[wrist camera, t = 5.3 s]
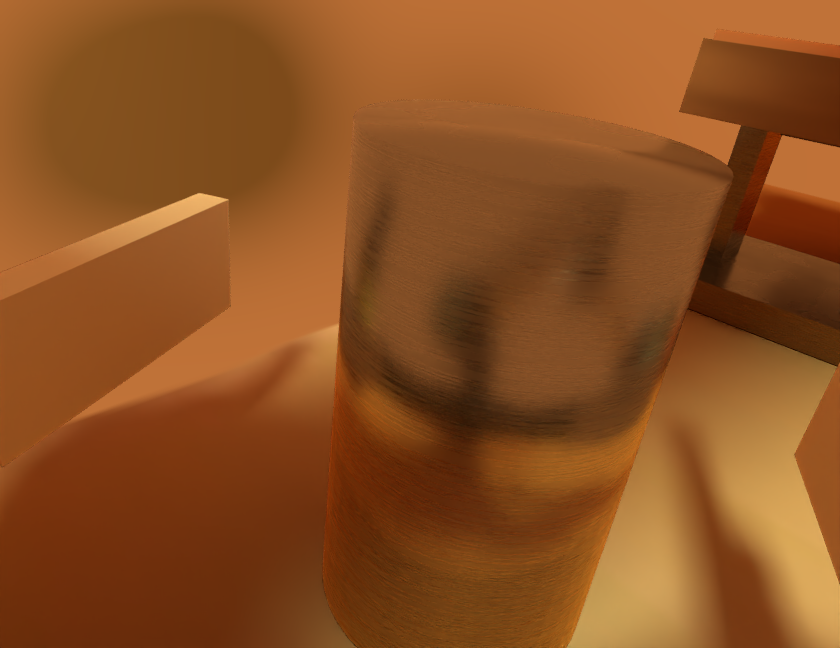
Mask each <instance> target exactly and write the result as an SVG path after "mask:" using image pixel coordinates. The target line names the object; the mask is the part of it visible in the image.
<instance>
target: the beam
mask: <svg viewBox="0 0 840 648" xmlns="http://www.w3.org/2000/svg"><path fill="white" fill-rule="evenodd" d="M679 112H682V113H688V114H692V115H697V116H701V117H706V118H711V119H716V120H720V121H725V122H729V123H734V124H739V125H743V126H748V127H752V128H757V129H762V130H766V131H771V132H776V133H780V134H781V135H785V136H789V137H794V138H799V139H804V140H808V141H813V142H817V143H822V144H826V145H831V146H836V147H840V46H839V45H832V44H824V43H817V42H810V41H802V40H795V39H788V38H780V37H773V36H766V35H758V34H751V33H744V32H736V31H729V30H722V29H717V30H716V33H715V35H714V39H713V40H712V39H705V38H704V39H703V42H702V45H701V48H700V51H699V54H698V57H697V60H696V63H695V66H694V69H693V72H692V75H691V78H690V81H689V84H688V87H687V90H686V93H685V96H684V99H683V102H682V105H681V108H680V111H679Z"/></svg>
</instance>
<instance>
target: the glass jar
mask: <svg viewBox="0 0 840 648" xmlns="http://www.w3.org/2000/svg"><path fill="white" fill-rule="evenodd" d="M733 177H734V176H733V172H732V170H731V169H730V168H729V167H728V166H727V165H726V164H724V163H723V162H722V161H720V160H719V159H716V158H715V157H713V156H711V155H709V154H707V153H705V152H703V151H701V150H698V149H696V148H693V147H691V146H688V145H685V144H683V143H680V142H677V141H674V140H671V139H668V138H665V137H662V136H658V135H655V134H652V133H648V132H644V131H641V130H637V129H633V128H629V127H625V126H621V125H617V124H613V123H608V122H604V121H599V120H595V119H590V118H584V117H580V116H574V115H569V114H563V113H557V112H551V111H545V110H539V109H531V108H525V107H517V106H509V105H500V104H491V103H481V102H469V101H451V100H399V101H388V102H381V103H375V104H371V105H368V106H365V107H362V108H360V109H359V110H357V111H356V112H355V115H354V118H353V133H352V149H351V162H350V176H349V190H348V205H347V220H346V235H345V249H344V263H343V277H342V291H341V306H340V307H341V308H340V320H339V334H338V349H337V363H336V378H335V392H334V407H333V421H332V435H331V450H330V464H329V479H328V493H327V507H326V522H325V536H324V551H323V565H322V571H323V585H324V590H325V596H326V598H327V601H328V604H329V607H330V610H331V612H332V614H333V616H334V617H335V619H336V621H337V623H338V625H339V626H340V628H341V629H342V630H343V632H344V633H345V634H346V636H347V637H348V639H349V640H350V641H351V642H352V643H353V644H354V645H355V646H356V647H357V648H566V647H567V645H568V644H569V642H570V640H571V639H572V636H573V634H574V631H575V628H576V626H577V623H578V620H579V617H580V614H581V612H582V609H583V606H584V603H585V600H586V597H587V594H588V591H589V589H590V586H591V583H592V580H593V577H594V574H595V571H596V569H597V566H598V563H599V560H600V557H601V554H602V551H603V549H604V546H605V543H606V540H607V537H608V534H609V531H610V529H611V526H612V523H613V520H614V517H615V514H616V511H617V509H618V506H619V503H620V500H621V497H622V494H623V491H624V489H625V486H626V483H627V480H628V477H629V474H630V471H631V469H632V466H633V463H634V460H635V457H636V454H637V451H638V449H639V446H640V443H641V440H642V437H643V434H644V431H645V429H646V426H647V423H648V420H649V417H650V414H651V411H652V408H653V406H654V403H655V400H656V397H657V394H658V391H659V388H660V386H661V383H662V380H663V377H664V374H665V371H666V368H667V366H668V363H669V360H670V357H671V354H672V351H673V348H674V346H675V343H676V340H677V337H678V334H679V331H680V328H681V326H682V323H683V320H684V317H685V314H686V311H687V308H688V306H689V303H690V300H691V297H692V294H693V291H694V288H695V286H696V283H697V280H698V277H699V274H700V271H701V268H702V266H703V263H704V260H705V257H706V254H707V251H708V248H709V246H710V243H711V240H712V237H713V234H714V231H715V228H716V226H717V223H718V220H719V217H720V214H721V211H722V208H723V205H724V203H725V200H726V197H727V194H728V191H729V188H730V185H731V183H732V180H733Z"/></svg>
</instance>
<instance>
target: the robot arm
mask: <svg viewBox="0 0 840 648" xmlns="http://www.w3.org/2000/svg"><path fill="white" fill-rule="evenodd" d="M230 306H231V299H230V249H229V200H228V199H224V198H219V197H215V196H210V195H206V194H202V193H198V194H196V195H193V196H191V197H188V198H186V199H183V200H181V201H178V202H176V203H173V204H170V205H168V206H165V207H163V208H160V209H158V210H155V211H153V212H151V213H148V214H145V215H143V216H140V217H138V218H135V219H133V220H130V221H128V222H125V223H123V224H120V225H118V226H115V227H113V228H110V229H108V230H105V231H103V232H100V233H98V234H95V235H93V236H90V237H88V238H85V239H83V240H80V241H78V242H75V243H72V244H70V245H67V246H65V247H62V248H60V249H57V250H55V251H52V252H50V253H47V254H45V255H42V256H40V257H37V258H35V259H32V260H30V261H27V262H25V263H22V264H20V265H17V266H15V267H12V268H10V269H7V270H5V271H2V272H0V467H4V466H5V465H7V464H8V463H10V462H11V461H13V460H14V459H15V458H17V457H18V456H20V455H21V454H22V453H24V452H25V451H27V450H28V449H30V448H31V447H32V446H34V445H35V444H37V443H38V442H39V441H41V440H42V439H44V438H45V437H47V436H48V435H49V434H51V433H52V432H54V431H55V430H56V429H58V428H59V427H61V426H62V425H64V424H65V423H66V422H68V421H69V420H71V419H72V418H73V417H75V416H76V415H78V414H79V413H81V412H82V411H83V410H85V409H86V408H87V407H89V406H90V405H92V404H93V403H95V402H96V401H98V400H99V399H100V398H102V397H103V396H105V395H106V394H107V393H109V392H110V391H112V390H113V389H115V388H116V387H117V386H119V385H120V384H122V383H123V382H124V381H126V380H127V379H129V378H130V377H132V376H133V375H134V374H136V373H137V372H139V371H140V370H141V369H143V368H144V367H146V366H147V365H149V364H150V363H151V362H153V361H154V360H156V359H157V358H158V357H160V356H161V355H163V354H164V353H165V352H167V351H168V350H170V349H171V348H173V347H174V346H175V345H177V344H178V343H180V342H181V341H182V340H184V339H185V338H187V337H188V336H190V335H191V334H192V333H194V332H195V331H197V330H198V329H200V328H201V327H202V326H204V325H205V324H207V323H208V322H210V321H211V320H212V319H214V318H215V317H217V316H218V315H219V314H221V313H222V312H224V311H225V310H226V309H228V308H229V307H230ZM794 455H795V458H796V461H797V464H798V467H799V470H800V473H801V475H802V478H803V481H804V484H805V487H806V490H807V492H808V495H809V498H810V501H811V504H812V507H813V510H814V512H815V515H816V518H817V521H818V524H819V527H820V529H821V532H822V535H823V538H824V541H825V544H826V547H827V549H828V552H829V555H830V558H831V561H832V564H833V566H834V569H835V572H836V575H837V578H838V581H839V584H840V363H839V365H838V367H837V369H836V371H835V373H834V375H833V377H832V379H831V381H830V383H829V385H828V387H827V389H826V391H825V393H824V395H823V397H822V399H821V401H820V404H819V406H818V408H817V410H816V412H815V414H814V416H813V418H812V420H811V422H810V424H809V426H808V428H807V430H806V432H805V434H804V436H803V438H802V440H801V442H800V444H799V446H798V448H797V450H796V452H795V454H794Z"/></svg>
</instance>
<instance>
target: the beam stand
mask: <svg viewBox="0 0 840 648" xmlns="http://www.w3.org/2000/svg"><path fill="white" fill-rule="evenodd" d="M781 137H782V135H781V134H780V133H776V132H771V131H766V130H762V129H757V128H752V127H748V126H743V125H741V127H740V130H739V133H738V136H737V139H736V142H735V145H734V148H733V151H732V154H731V157H730V159H729V162H728V165H727V166H728V167H729V168H730V169H731V170H732V172H733V176H734V177H733V180H732V183H731V185H730V188H729V191H728V194H727V197H726V200H725V203H724V205H723V208H722V211H721V214H720V217H719V220H718V223H717V226H716V228H715V231H714V234H713V237H712V240H711V243H710V246H709V248H708V251H707V254H706V257H705V260H704V263H703V266H702V268H701V271H700V274H699V277H698V280H697V283H696V286H695V288H694V291H693V294H692V297H691V300H690V303H689V306H688V309H691V310H693V311H696V312H699V313H701V314H704V315H706V316H709V317H712V318H714V319H717V320H719V321H722V322H725V323H727V324H730V325H732V326H735V327H738V328H740V329H743V330H745V331H748V332H751V333H753V334H756V335H758V336H761V337H763V338H766V339H769V340H771V341H774V342H776V343H779V344H782V345H784V346H787V347H789V348H792V349H795V350H797V351H800V352H802V353H805V354H808V355H810V356H813V357H815V358H818V359H821V360H823V361H826V362H828V363H831V364H834V365H836V366H838V365H839V363H840V264H838V263H835V262H832V261H829V260H825V259H822V258H819V257H815V256H812V255H809V254H806V253H802V252H799V251H796V250H793V249H789V248H786V247H783V246H779V245H776V244H773V243H770V242H766V241H763V240H760V239H757V238H753V237H750V236H747V235H745V233H746V230H747V228H748V225H749V222H750V220H751V217H752V214H753V212H754V209H755V206H756V204H757V201H758V198H759V196H760V193H761V190H762V188H763V185H764V182H765V180H766V177H767V174H768V172H769V169H770V166H771V164H772V161H773V158H774V155H775V153H776V150H777V147H778V145H779V142H780V139H781Z"/></svg>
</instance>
